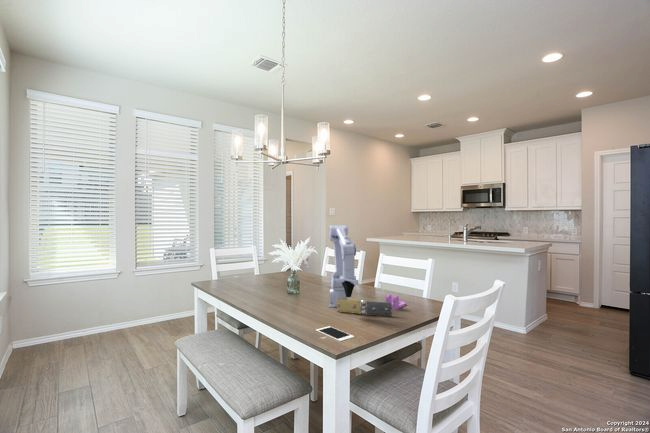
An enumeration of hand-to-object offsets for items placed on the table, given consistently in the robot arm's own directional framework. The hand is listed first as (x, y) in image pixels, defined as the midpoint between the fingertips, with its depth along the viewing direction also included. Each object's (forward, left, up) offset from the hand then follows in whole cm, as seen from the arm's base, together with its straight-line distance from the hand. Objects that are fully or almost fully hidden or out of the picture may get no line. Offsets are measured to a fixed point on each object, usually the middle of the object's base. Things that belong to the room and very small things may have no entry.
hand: (348, 296), depth 156 cm
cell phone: (-2, -25, -10) cm, 27 cm away
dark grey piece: (+13, +4, -9) cm, 16 cm away
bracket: (+23, +23, -10) cm, 34 cm away
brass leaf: (+1, +5, -9) cm, 10 cm away
